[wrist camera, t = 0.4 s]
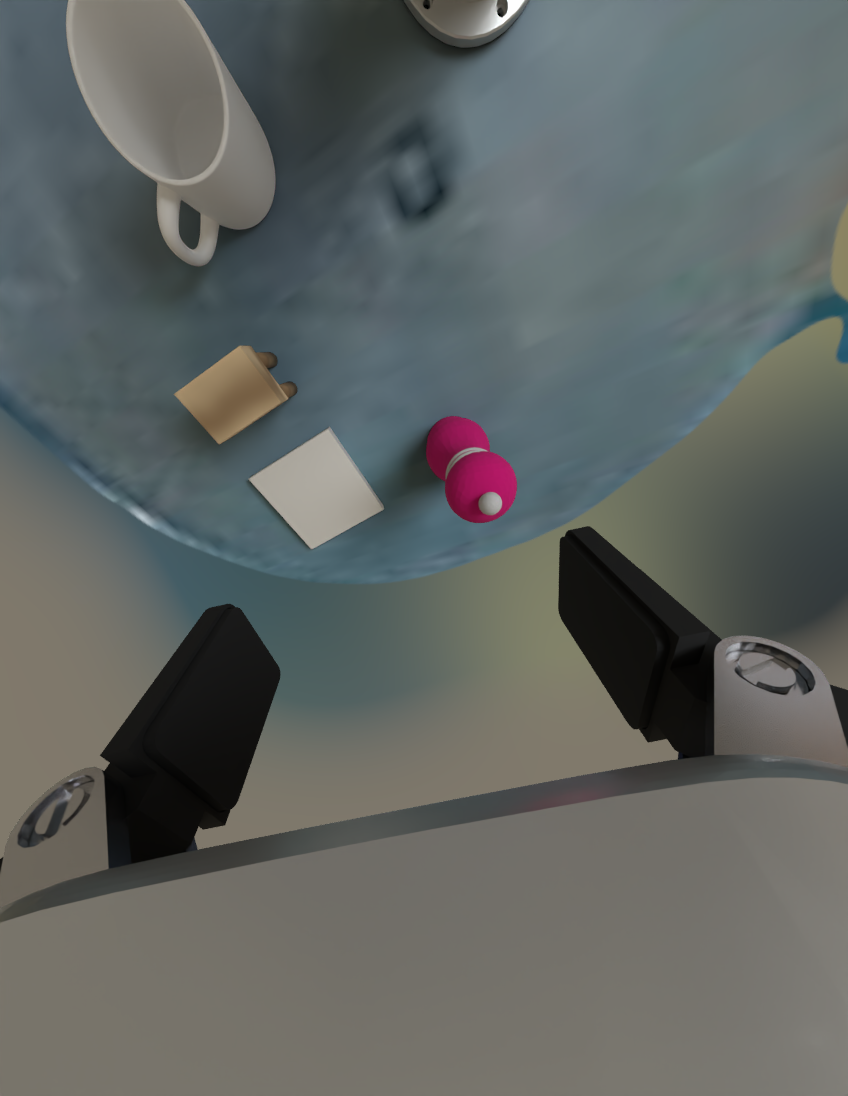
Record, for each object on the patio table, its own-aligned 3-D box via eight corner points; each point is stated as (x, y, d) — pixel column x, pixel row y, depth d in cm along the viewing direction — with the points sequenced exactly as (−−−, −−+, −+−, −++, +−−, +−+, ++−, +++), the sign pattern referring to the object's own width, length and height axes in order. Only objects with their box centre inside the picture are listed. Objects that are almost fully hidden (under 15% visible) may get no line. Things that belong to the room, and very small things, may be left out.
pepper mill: (430, 475, 43) (454, 558, 26) (417, 420, 40) (435, 474, 23) (483, 462, 43) (543, 537, 26) (475, 404, 39) (539, 448, 22)
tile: (252, 475, 41) (248, 479, 40) (329, 426, 39) (327, 428, 38) (313, 545, 47) (311, 549, 46) (383, 505, 45) (383, 509, 44)
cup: (286, 128, 27) (236, 24, 18) (263, 297, 32) (216, 278, 24) (173, 60, 25) (54, -95, 16) (169, 253, 30) (79, 215, 22)
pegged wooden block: (218, 384, 36) (174, 394, 29) (271, 346, 34) (239, 345, 27) (251, 426, 38) (219, 444, 31) (302, 391, 37) (281, 402, 30)
